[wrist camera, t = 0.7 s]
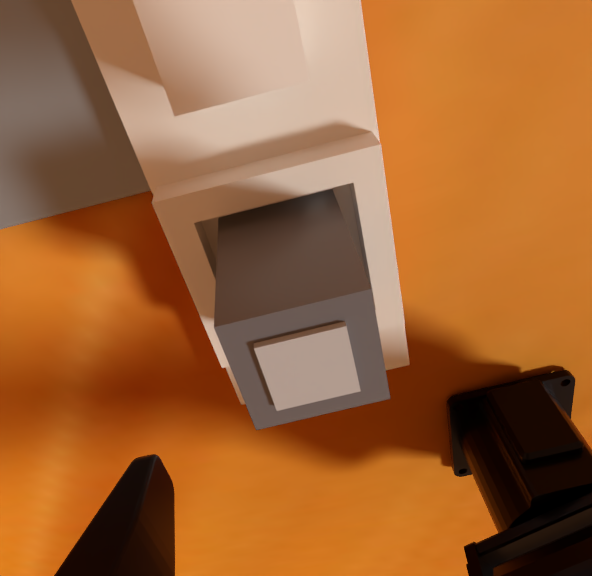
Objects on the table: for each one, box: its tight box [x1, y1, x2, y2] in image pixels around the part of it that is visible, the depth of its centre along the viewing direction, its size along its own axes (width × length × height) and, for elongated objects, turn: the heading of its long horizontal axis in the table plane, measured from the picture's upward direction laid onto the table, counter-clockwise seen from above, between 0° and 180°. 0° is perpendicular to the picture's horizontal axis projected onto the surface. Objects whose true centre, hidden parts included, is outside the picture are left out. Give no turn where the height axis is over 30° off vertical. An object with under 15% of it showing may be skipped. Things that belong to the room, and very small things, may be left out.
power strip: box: [71, 0, 410, 405], centre depth 14 cm, size 30×8×4 cm, turn 13°
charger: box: [214, 189, 391, 430], centre depth 16 cm, size 4×4×6 cm
